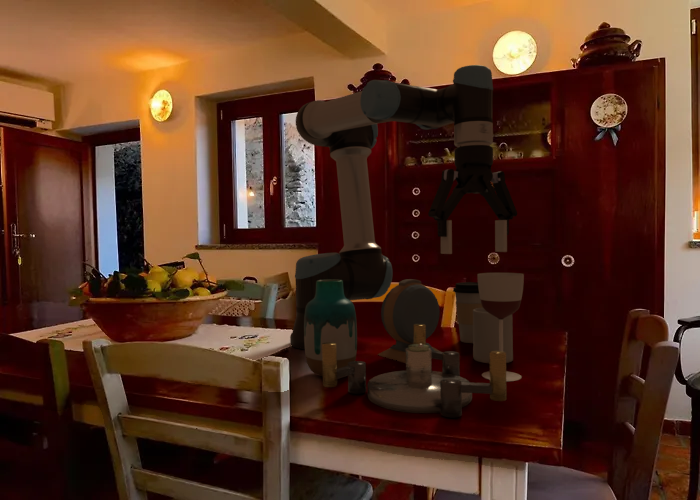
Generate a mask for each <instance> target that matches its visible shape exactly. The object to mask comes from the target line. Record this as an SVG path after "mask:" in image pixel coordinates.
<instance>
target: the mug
mask: <svg viewBox="0 0 700 500" xmlns="http://www.w3.org/2000/svg"><path fill="white" fill-rule="evenodd" d="M513 334H514V333H513V314H511V315H509V316H507V317H505V318H504V319H503V352H506V364H509V363H511V362H512V361H514V349H513V347H514V346H513V345H514V344H513V343H514V342H513V339H514V338H513ZM472 344H473V347H472V356H473V359H474V361H476V362H479V363H484V364H490V355H489V352H490V351H499V319H498V318H497V317H495V316H493V315H491V314H490V313H488V312H487V311H486V310H485V309H484V308H476V309H474V310H473V343H472Z"/></svg>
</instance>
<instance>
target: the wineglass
mask: <svg viewBox="0 0 700 500" xmlns="http://www.w3.org/2000/svg"><path fill="white" fill-rule="evenodd" d="M524 278H525V273H519V272H481V273H477V282H478V289H479V295H480V300H481V304H482V307H483V308H484V309H485V310H486V311H487V312H488V313H490V314H491V315H493V316H495V317H497V318H498V319H499V351H503V319H504V318H505V317H507V316H509V315H511V314H512V315H513V314H514V313H516V312H517V311H518V310H519V309H520V306H521V304H522V299H523V298H522V297H523V292H524V284H525V283H524V281H525V279H524ZM481 376H482V377H483V378H484V379H486V380H490V370H488V371H484V372H483V373H481ZM522 377H523V376H522V375H520V374H519V373H516V372H513V371H508V370H506V382H514V381H519V380H521V379H522Z"/></svg>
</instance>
